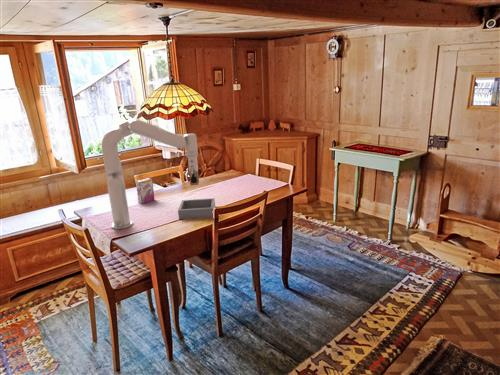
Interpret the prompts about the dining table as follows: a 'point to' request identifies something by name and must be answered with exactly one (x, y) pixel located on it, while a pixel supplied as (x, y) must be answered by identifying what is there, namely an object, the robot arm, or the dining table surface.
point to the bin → (196, 208)
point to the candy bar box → (145, 190)
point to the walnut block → (196, 178)
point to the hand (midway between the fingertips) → (194, 181)
